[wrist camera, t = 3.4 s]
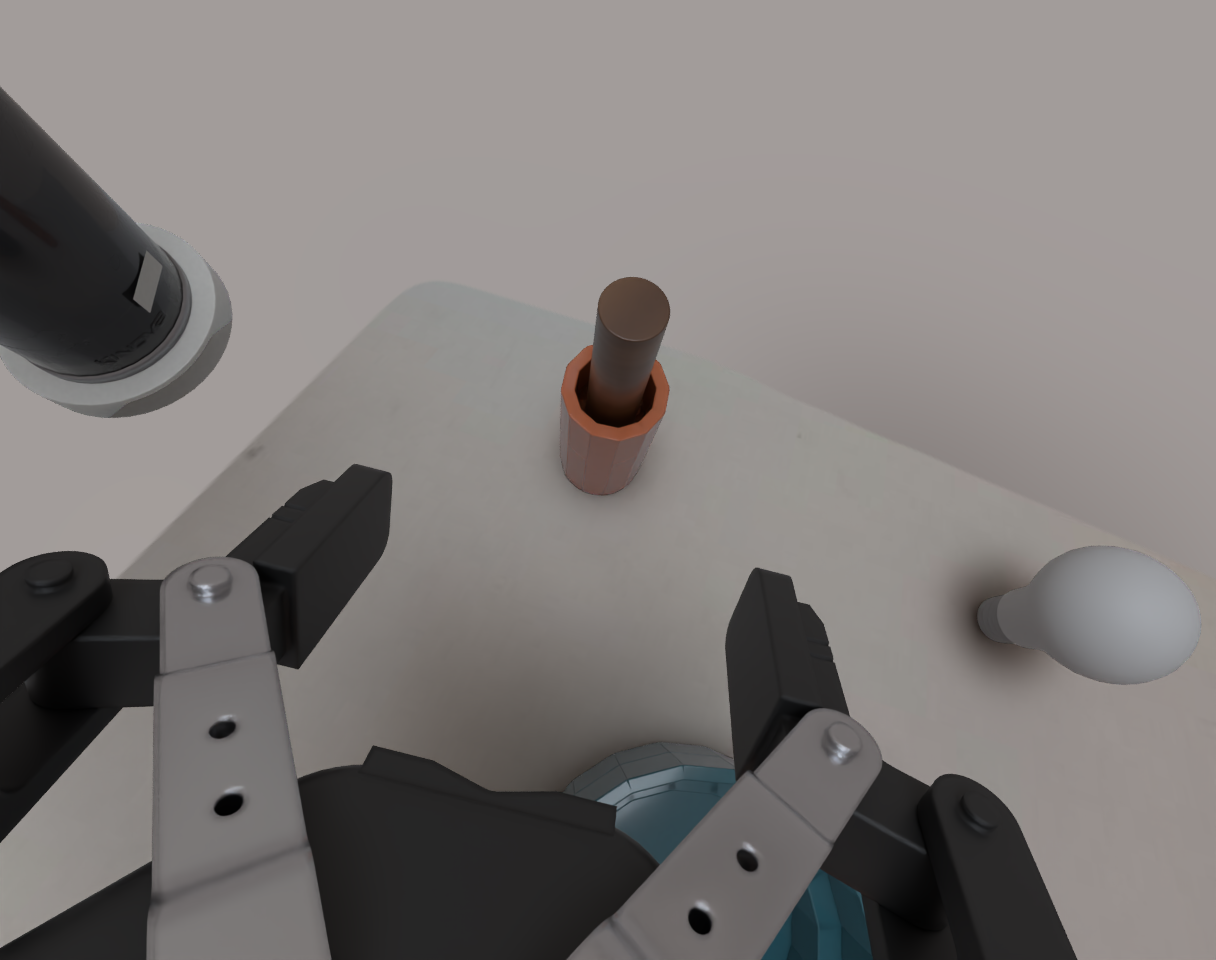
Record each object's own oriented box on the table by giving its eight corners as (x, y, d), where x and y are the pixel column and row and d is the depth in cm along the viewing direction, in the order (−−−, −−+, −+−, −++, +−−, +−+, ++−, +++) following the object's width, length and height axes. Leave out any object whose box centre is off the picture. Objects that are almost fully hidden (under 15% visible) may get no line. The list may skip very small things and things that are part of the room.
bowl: (447, 929, 29) (415, 1013, 23) (652, 679, 33) (676, 687, 26) (689, 1179, 28) (732, 1350, 21) (876, 885, 31) (963, 951, 25)
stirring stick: (571, 455, 35) (582, 308, 20) (599, 426, 36) (630, 263, 21) (602, 482, 35) (638, 355, 20) (630, 453, 36) (685, 308, 20)
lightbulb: (941, 671, 35) (1112, 683, 24) (934, 563, 36) (1090, 529, 26) (1045, 679, 35) (1258, 694, 24) (1033, 571, 37) (1228, 541, 26)
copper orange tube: (544, 459, 36) (540, 390, 26) (597, 405, 37) (611, 321, 27) (603, 511, 35) (620, 461, 26) (654, 455, 37) (689, 387, 27)
